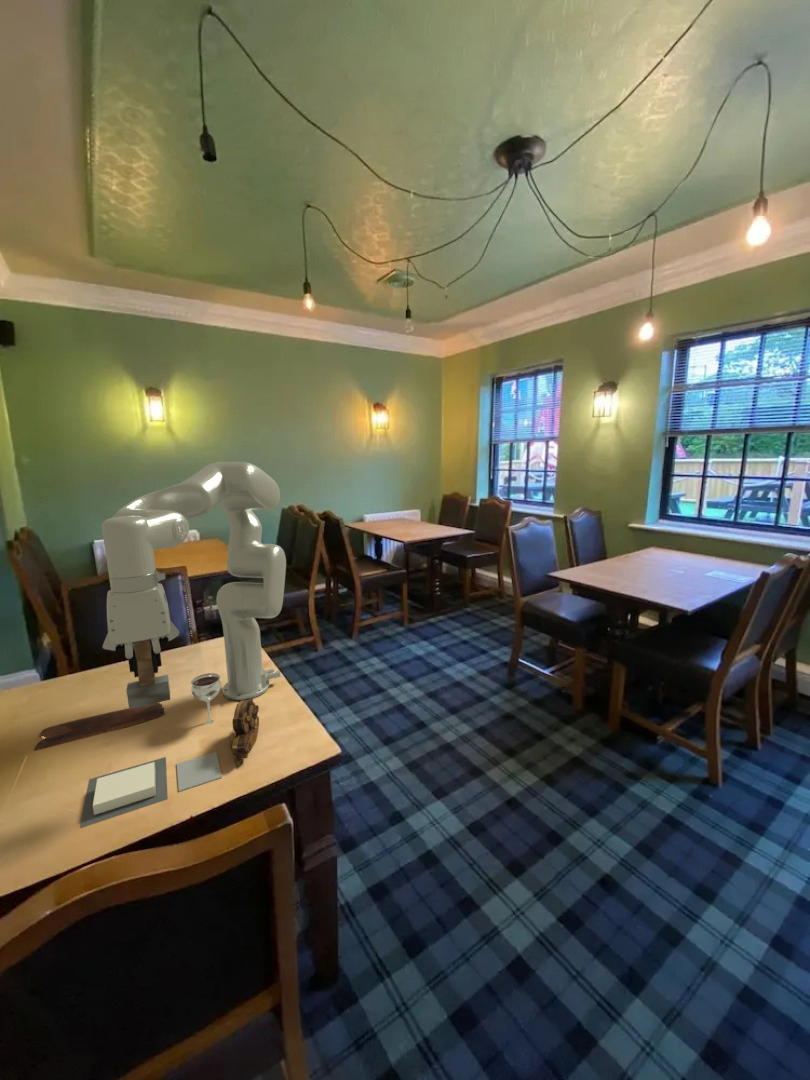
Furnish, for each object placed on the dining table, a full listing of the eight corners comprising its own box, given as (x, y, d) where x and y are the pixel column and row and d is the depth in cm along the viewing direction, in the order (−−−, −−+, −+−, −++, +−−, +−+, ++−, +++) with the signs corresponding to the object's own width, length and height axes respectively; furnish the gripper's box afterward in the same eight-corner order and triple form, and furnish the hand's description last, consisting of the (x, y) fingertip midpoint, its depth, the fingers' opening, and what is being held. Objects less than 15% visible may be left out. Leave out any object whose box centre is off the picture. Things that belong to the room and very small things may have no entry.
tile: (154, 761, 94) (154, 786, 87) (155, 771, 95) (155, 796, 88) (97, 778, 89) (92, 805, 82) (98, 788, 90) (94, 816, 83)
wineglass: (196, 735, 108) (191, 689, 105) (194, 720, 113) (189, 676, 111) (226, 727, 111) (222, 682, 108) (223, 713, 117) (219, 670, 114)
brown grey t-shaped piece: (170, 692, 92) (161, 623, 89) (170, 699, 89) (161, 628, 86) (130, 701, 88) (119, 630, 85) (129, 709, 86) (118, 636, 83)
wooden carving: (254, 766, 97) (251, 725, 95) (232, 769, 96) (228, 728, 94) (262, 722, 113) (259, 686, 111) (243, 724, 112) (240, 688, 110)
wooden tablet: (162, 696, 123) (164, 710, 114) (163, 704, 123) (165, 718, 115) (40, 728, 109) (32, 746, 101) (41, 736, 110) (33, 755, 101)
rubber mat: (166, 759, 99) (165, 756, 99) (167, 801, 87) (167, 798, 87) (89, 781, 93) (89, 779, 92) (80, 830, 81) (79, 828, 80)
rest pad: (216, 755, 100) (216, 751, 100) (222, 780, 93) (221, 776, 93) (177, 767, 97) (176, 763, 97) (179, 794, 89) (178, 790, 89)
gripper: (181, 571, 91) (191, 655, 95) (85, 583, 83) (100, 673, 87) (182, 581, 84) (193, 671, 88) (78, 594, 77) (94, 691, 81)
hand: (146, 671), depth 88 cm, fingers closed on brown grey t-shaped piece, 2 cm apart
